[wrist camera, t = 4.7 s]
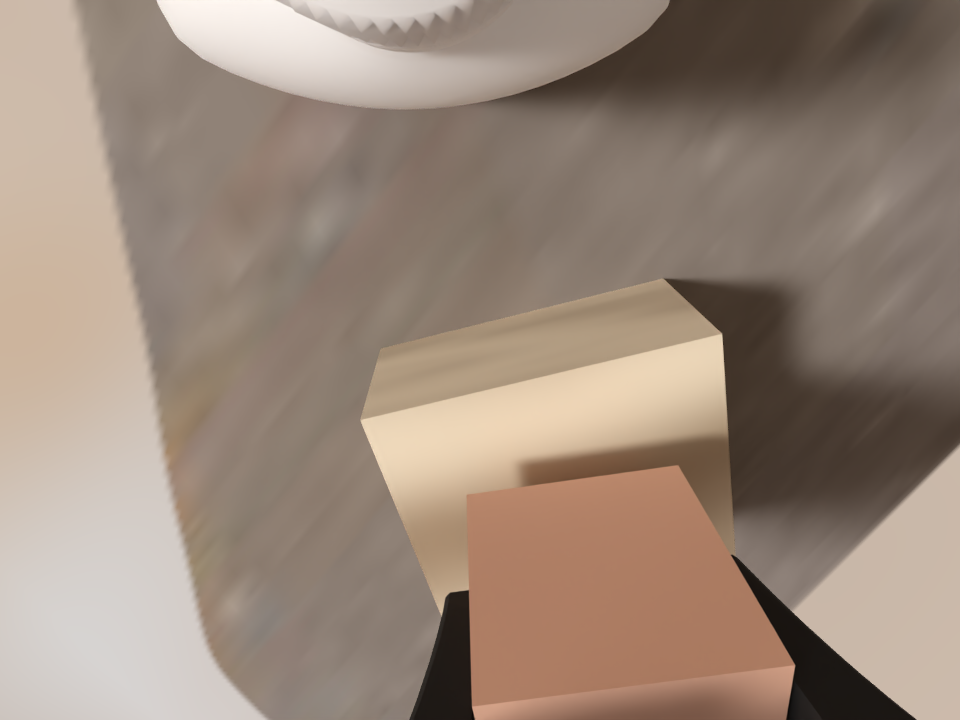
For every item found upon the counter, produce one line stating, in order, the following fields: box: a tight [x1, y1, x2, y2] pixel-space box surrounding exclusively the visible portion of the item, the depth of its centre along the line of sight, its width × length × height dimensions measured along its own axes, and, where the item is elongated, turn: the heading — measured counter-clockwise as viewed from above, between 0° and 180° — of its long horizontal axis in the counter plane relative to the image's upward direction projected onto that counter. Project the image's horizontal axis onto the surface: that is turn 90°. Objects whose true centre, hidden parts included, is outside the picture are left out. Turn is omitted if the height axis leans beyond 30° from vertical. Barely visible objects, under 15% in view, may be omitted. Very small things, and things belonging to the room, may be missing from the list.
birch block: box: [360, 279, 736, 616], centre depth 16 cm, size 8×8×4 cm
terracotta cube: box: [467, 465, 795, 720], centre depth 11 cm, size 4×4×4 cm
